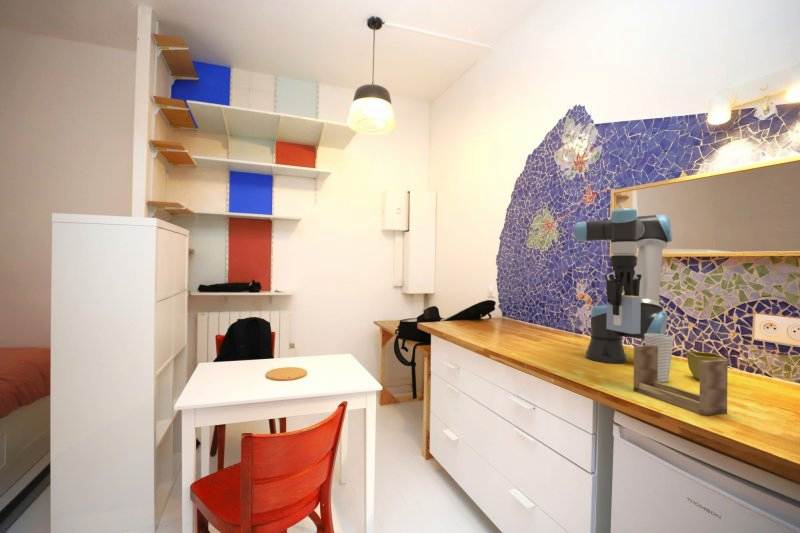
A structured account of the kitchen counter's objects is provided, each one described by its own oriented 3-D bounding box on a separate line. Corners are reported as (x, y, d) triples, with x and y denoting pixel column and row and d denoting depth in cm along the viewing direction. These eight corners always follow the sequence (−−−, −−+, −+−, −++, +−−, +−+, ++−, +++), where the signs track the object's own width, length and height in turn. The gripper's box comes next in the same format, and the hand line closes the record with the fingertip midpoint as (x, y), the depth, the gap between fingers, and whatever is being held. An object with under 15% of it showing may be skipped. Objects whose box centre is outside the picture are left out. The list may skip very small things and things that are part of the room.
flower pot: (715, 378, 132) (715, 352, 132) (727, 385, 124) (727, 358, 124) (685, 375, 135) (686, 350, 135) (695, 382, 127) (696, 355, 127)
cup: (638, 376, 133) (638, 332, 133) (662, 376, 133) (662, 333, 133) (653, 383, 125) (654, 337, 125) (679, 384, 124) (679, 337, 124)
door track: (652, 388, 119) (653, 344, 119) (727, 413, 99) (727, 360, 99) (633, 390, 117) (634, 346, 117) (705, 416, 96) (706, 362, 97)
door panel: (614, 328, 130) (614, 294, 130) (640, 333, 120) (640, 296, 120) (606, 328, 129) (606, 294, 129) (631, 333, 119) (632, 296, 119)
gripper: (632, 255, 130) (632, 322, 130) (594, 254, 126) (594, 323, 126) (652, 255, 123) (652, 325, 123) (613, 254, 119) (612, 327, 118)
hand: (622, 324), depth 124 cm, fingers closed on door panel, 3 cm apart
